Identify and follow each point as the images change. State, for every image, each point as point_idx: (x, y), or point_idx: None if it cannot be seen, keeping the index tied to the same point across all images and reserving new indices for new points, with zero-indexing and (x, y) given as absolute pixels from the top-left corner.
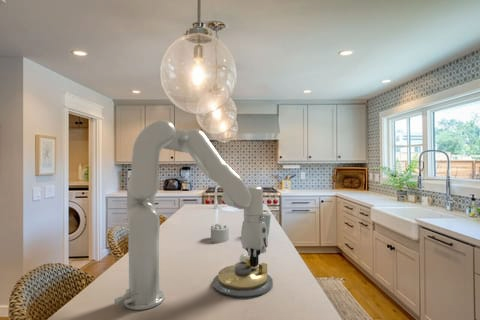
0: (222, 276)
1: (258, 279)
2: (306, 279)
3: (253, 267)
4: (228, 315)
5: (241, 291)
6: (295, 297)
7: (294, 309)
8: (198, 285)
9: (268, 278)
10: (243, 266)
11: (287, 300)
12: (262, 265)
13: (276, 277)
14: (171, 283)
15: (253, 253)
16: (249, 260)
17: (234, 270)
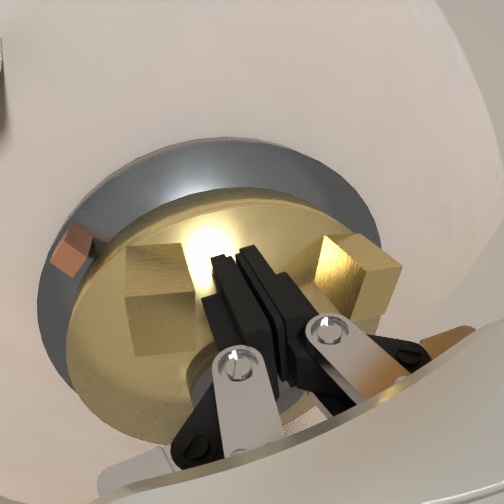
0: None
1: (366, 331)
2: (423, 10)
3: (208, 264)
4: None
5: None
6: (451, 208)
7: (457, 264)
8: (120, 437)
9: (329, 197)
10: None
11: (438, 246)
12: (384, 312)
13: (301, 81)
14: (71, 466)
15: (322, 409)
16: (194, 338)
17: (169, 391)
